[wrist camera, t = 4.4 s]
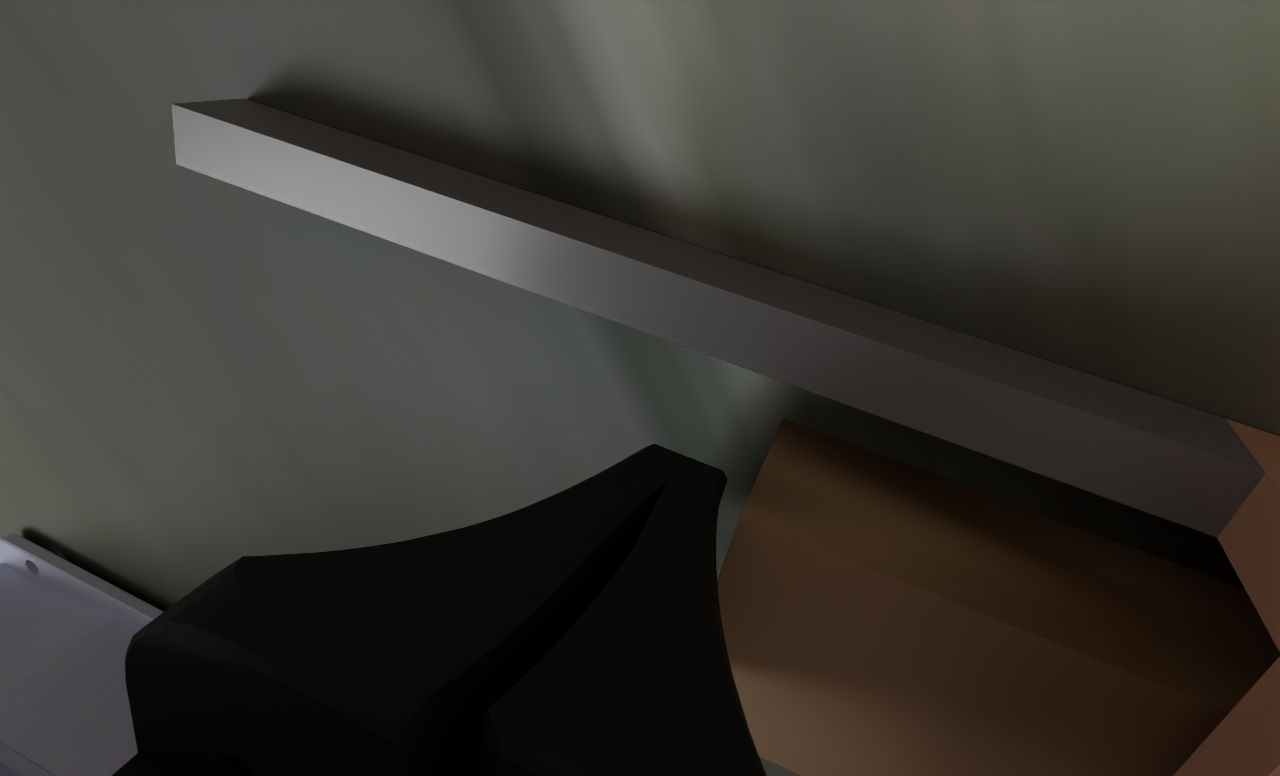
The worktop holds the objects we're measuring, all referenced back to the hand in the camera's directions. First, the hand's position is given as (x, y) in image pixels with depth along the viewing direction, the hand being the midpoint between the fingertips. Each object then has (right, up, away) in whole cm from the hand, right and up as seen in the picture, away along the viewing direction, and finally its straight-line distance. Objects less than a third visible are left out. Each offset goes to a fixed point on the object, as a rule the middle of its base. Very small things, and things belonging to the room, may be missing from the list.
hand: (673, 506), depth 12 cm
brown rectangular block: (+5, -2, 0) cm, 5 cm away
